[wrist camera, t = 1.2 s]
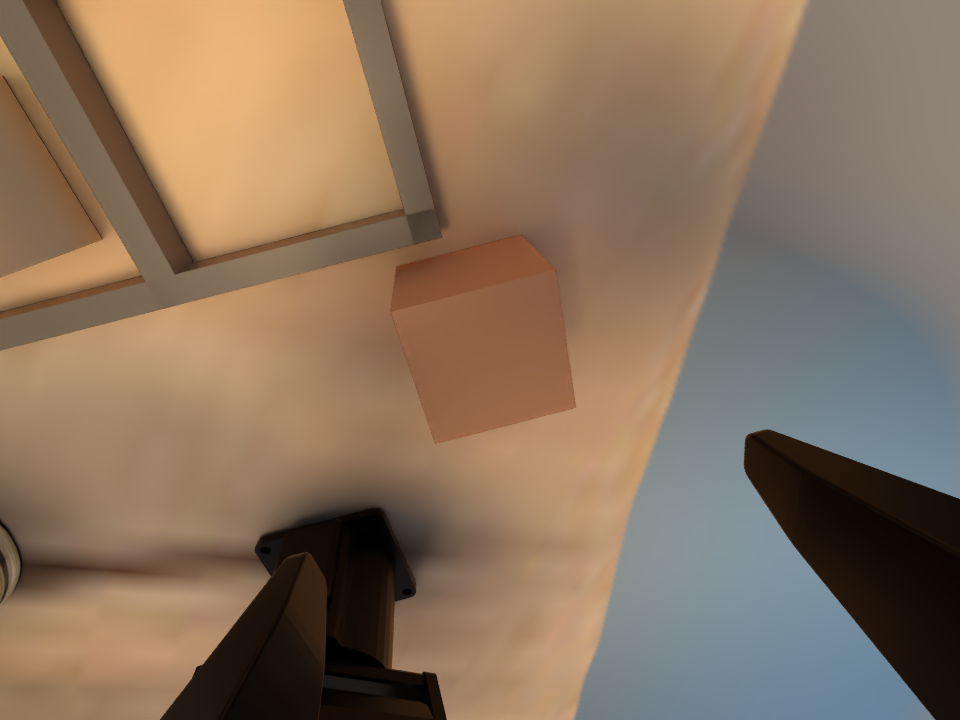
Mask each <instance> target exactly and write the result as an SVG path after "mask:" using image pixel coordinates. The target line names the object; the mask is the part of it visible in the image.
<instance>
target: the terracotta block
mask: <svg viewBox="0 0 960 720" xmlns="http://www.w3.org/2000/svg"><path fill="white" fill-rule="evenodd" d="M391 315H392V318H393V321H394V324H395V327H396V330H397V332H398V335H399V338H400V341H401V344H402V347H403V350H404V353H405V356H406V359H407V362H408V365H409V368H410V371H411V374H412V377H413V380H414V383H415V386H416V389H417V392H418V395H419V398H420V401H421V403H422V406H423V409H424V412H425V415H426V418H427V421H428V424H429V427H430V430H431V433H432V436H433V439H434V442H435V444H438V443H441V442H445V441H449V440H453V439H457V438H461V437H465V436H469V435H472V434H476V433H480V432H484V431H488V430H492V429H496V428H499V427H503V426H507V425H511V424H515V423H519V422H523V421H526V420H530V419H534V418H538V417H542V416H546V415H550V414H553V413H557V412H561V411H565V410H569V409H573V408H576V403H575V397H574V390H573V383H572V377H571V370H570V363H569V357H568V350H567V343H566V336H565V330H564V323H563V316H562V310H561V303H560V296H559V290H558V283H557V276H556V270H555V269H554V268H553V267H552V266H551V265H550V263H549V262H548V261H547V260H546V259H545V258H544V257H543V256H542V255H541V254H540V253H539V252H538V251H537V250H536V249H535V248H534V247H533V246H532V245H531V244H530V243H529V242H528V241H527V240H526V239H525V238H524V237H523V235H518V236H514V237H510V238H506V239H503V240H499V241H495V242H491V243H487V244H483V245H479V246H475V247H471V248H467V249H463V250H460V251H456V252H452V253H448V254H444V255H440V256H436V257H432V258H428V259H424V260H420V261H417V262H413V263H409V264H405V265H401V266H397V267H396V275H395V282H394V290H393V297H392V305H391Z"/></svg>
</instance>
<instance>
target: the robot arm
mask: <svg viewBox="0 0 960 720" xmlns="http://www.w3.org/2000/svg"><path fill="white" fill-rule="evenodd" d="M744 452H745V453H744V469H745V472H746V474H747V476H748V478H749V480H750V481H751V483H752V484H753V486H754V487H755V489H756V490H757V492H758V493H759V495H760V496H761V498H762V499H763V501H764V502H765V504H766V505H767V507H768V508H769V510H770V511H771V513H772V514H773V516H774V517H775V519H776V520H777V522H778V523H779V525H780V526H781V528H782V529H783V531H784V532H785V534H786V535H787V537H788V538H789V540H790V541H791V542H792V544H793V545H794V546H795V548H796V549H797V550H798V552H799V553H800V554H801V555H802V556H803V558H804V559H805V560H806V561H807V563H808V564H809V565H810V566H811V568H812V569H813V570H814V571H815V573H816V574H817V575H818V576H819V577H820V579H821V580H822V581H823V582H824V584H826V586H827V587H828V588H829V590H830V591H831V592H832V593H833V595H834V596H835V597H836V598H837V599H838V601H839V602H840V603H841V604H842V606H843V607H844V608H845V609H846V611H847V612H848V613H849V614H850V615H851V617H852V618H853V619H854V620H855V622H856V623H857V624H858V625H859V627H860V628H861V629H862V630H863V631H864V633H865V634H866V635H867V636H868V638H869V639H870V640H871V641H872V642H873V644H874V645H875V646H876V647H877V649H878V650H879V651H880V652H881V653H882V655H883V656H884V657H885V658H886V660H887V661H888V662H889V663H890V664H891V666H892V667H893V668H894V669H895V671H896V672H897V673H898V674H899V675H900V677H901V678H902V679H903V680H904V682H905V683H906V684H907V685H908V687H909V688H910V689H911V690H912V692H913V693H914V694H915V695H916V696H917V697H918V699H919V700H920V701H921V703H922V704H923V705H924V706H925V707H926V709H927V710H928V711H929V712H930V714H931V715H932V716H933V717H934V719H935V720H960V499H958V498H956V497H953V496H950V495H947V494H945V493H942V492H939V491H936V490H934V489H931V488H928V487H925V486H923V485H920V484H917V483H914V482H912V481H909V480H906V479H903V478H901V477H898V476H895V475H892V474H890V473H887V472H884V471H882V470H879V469H876V468H873V467H871V466H868V465H865V464H863V463H860V462H857V461H854V460H852V459H849V458H846V457H843V456H841V455H838V454H835V453H832V452H830V451H827V450H824V449H821V448H819V447H816V446H813V445H811V444H808V443H805V442H802V441H799V440H797V439H794V438H791V437H789V436H786V435H783V434H780V433H778V432H775V431H772V430H762V431H757V432H754V433H750V434H748V435H747V436H746V438H745V451H744ZM372 518H377V519H376V520H374V519H372ZM267 547H269V548H267ZM255 553H256V554H257V556H258V557H259V559H260V560H261V562H262V563H263V565H264V566H265V568H266V569H267V571H268V572H269V574H270V575H271V578H270V579H269V581H268V582H267V583H266V585H265V586H264V587H263V588H262V590H261V591H260V592H259V593H258V595H257V596H256V597H255V599H254V600H253V601H252V602H251V604H250V605H249V606H248V608H247V609H246V610H245V611H244V613H243V614H242V615H241V617H240V618H239V619H238V620H237V622H236V623H235V624H234V625H233V627H232V628H231V629H230V631H229V632H228V633H227V634H226V636H225V637H224V638H223V640H222V641H221V642H220V643H219V645H218V646H217V647H216V649H215V650H214V651H213V652H212V654H211V655H210V656H209V658H208V659H207V660H206V661H205V663H204V664H203V665H201V666H198V667H197V668H196V670H195V673H194V675H193V677H192V679H191V681H190V682H189V683H188V684H187V686H186V687H185V688H184V690H183V691H182V692H181V693H180V695H179V696H178V697H177V698H176V700H175V701H174V702H173V704H172V705H171V706H170V707H169V709H168V710H167V711H166V713H165V714H164V715H163V716H162V718H161V719H160V720H447V719H446V714H445V710H444V706H443V701H442V697H441V693H440V689H439V684H438V680H437V676H436V674H435V673H429V672H423V673H422V674H420V673H414V672H407V671H401V670H395V669H392V654H393V630H394V606H395V601H399V600H402V599H406V598H410V597H412V596H414V595H415V593H416V582H415V580H414V578H413V576H412V573H411V571H410V569H409V567H408V564H407V562H406V560H405V558H404V555H403V553H402V551H401V549H400V546H399V544H398V542H397V540H396V537H395V535H394V533H393V531H392V528H391V526H390V524H389V522H388V519H387V517H386V515H385V513H384V512H383V511H382V510H381V509H377V508H374V509H369V510H365V511H361V512H357V513H354V514H350V515H346V516H342V517H338V518H334V519H331V520H327V521H323V522H319V523H315V524H312V525H308V526H304V527H300V528H296V529H292V530H289V531H285V532H281V533H277V534H273V535H269V536H266V537H262V538H260V539H259V540H258V542H257V544H256V547H255Z"/></svg>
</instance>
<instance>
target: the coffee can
mask: <svg viewBox="0 0 960 720" xmlns="http://www.w3.org/2000/svg"><path fill="white" fill-rule="evenodd" d="M19 575H20V558H19V555H18V551H17V548H16V546H15V545H14V543H13V541H12V539H11V537H10V535H9V533H8V532H7V531H6V530H5V529H4V528H3V527H2V526H1V525H0V604H1V603H2V602H3V601H5V600H6V599H7V598H8V597H9V596H10V594H11V593H12V592H13V591H14V588H15V586H16V584H17V582H18V579H19Z"/></svg>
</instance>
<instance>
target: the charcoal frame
mask: <svg viewBox="0 0 960 720" xmlns="http://www.w3.org/2000/svg"><path fill="white" fill-rule="evenodd" d="M343 2H344V5H345V9H346V12H347V16H348V19H349V23H350V26H351V29H352V33H353V36H354V40H355V43H356V47H357V50H358V53H359V57H360V60H361V64H362V67H363V70H364V74H365V77H366V81H367V84H368V88H369V91H370V94H371V98H372V101H373V105H374V108H375V112H376V115H377V118H378V122H379V125H380V129H381V132H382V136H383V139H384V142H385V146H386V149H387V153H388V156H389V160H390V163H391V166H392V170H393V173H394V177H395V180H396V184H397V187H398V190H399V194H400V197H401V201H402V204H403V208H404V209H402V210H398V211H394V212H390V213H386V214H382V215H378V216H374V217H370V218H367V219H363V220H359V221H355V222H351V223H347V224H343V225H339V226H335V227H331V228H327V229H324V230H320V231H316V232H312V233H308V234H304V235H300V236H296V237H292V238H288V239H284V240H281V241H277V242H273V243H269V244H265V245H261V246H257V247H253V248H249V249H245V250H242V251H238V252H234V253H230V254H226V255H222V256H218V257H214V258H210V259H206V260H202V261H199V262H195V263H193V261H192V259H191V257H190V255H189V253H188V251H187V249H186V247H185V246H184V244H183V242H182V240H181V238H180V236H179V234H178V232H177V230H176V229H175V227H174V225H173V223H172V221H171V219H170V217H169V215H168V213H167V212H166V210H165V208H164V206H163V204H162V202H161V200H160V198H159V196H158V195H157V193H156V191H155V189H154V187H153V185H152V183H151V181H150V179H149V178H148V176H147V174H146V172H145V170H144V168H143V166H142V164H141V162H140V161H139V159H138V157H137V155H136V153H135V151H134V149H133V147H132V145H131V143H130V142H129V140H128V138H127V136H126V134H125V132H124V130H123V128H122V126H121V125H120V123H119V121H118V119H117V117H116V115H115V113H114V111H113V109H112V108H111V106H110V104H109V102H108V100H107V98H106V96H105V94H104V92H103V91H102V89H101V87H100V85H99V83H98V81H97V79H96V77H95V75H94V74H93V72H92V70H91V68H90V66H89V64H88V62H87V60H86V58H85V57H84V55H83V53H82V51H81V49H80V47H79V45H78V43H77V41H76V39H75V38H74V36H73V34H72V32H71V30H70V28H69V26H68V24H67V22H66V21H65V19H64V17H63V15H62V13H61V11H60V9H59V7H58V5H57V4H56V2H55V0H0V36H1V38H2V39H3V41H4V43H5V45H6V46H7V48H8V50H9V51H10V53H11V55H12V56H13V58H14V60H15V61H16V63H17V65H18V67H19V68H20V70H21V72H22V73H23V75H24V77H25V78H26V80H27V82H28V83H29V85H30V87H31V89H32V90H33V92H34V94H35V95H36V97H37V99H38V100H39V102H40V104H41V105H42V107H43V109H44V111H45V112H46V114H47V116H48V117H49V119H50V121H51V122H52V124H53V126H54V127H55V129H56V131H57V133H58V134H59V136H60V138H61V139H62V141H63V143H64V144H65V146H66V148H67V149H68V151H69V153H70V155H71V156H72V158H73V160H74V161H75V163H76V165H77V166H78V168H79V170H80V171H81V173H82V175H83V177H84V178H85V180H86V182H87V183H88V185H89V187H90V188H91V190H92V192H93V193H94V195H95V197H96V199H97V200H98V202H99V204H100V205H101V207H102V209H103V210H104V212H105V214H106V215H107V217H108V219H109V221H110V222H111V224H112V226H113V227H114V229H115V231H116V232H117V234H118V236H119V237H120V239H121V241H122V243H123V244H124V246H125V248H126V249H127V251H128V253H129V254H130V256H131V258H132V259H133V261H134V263H135V265H136V266H137V268H138V270H139V271H140V273H141V275H142V276H140V277H136V278H132V279H128V280H124V281H120V282H116V283H113V284H109V285H105V286H101V287H97V288H93V289H89V290H85V291H81V292H77V293H73V294H70V295H66V296H62V297H58V298H54V299H50V300H46V301H42V302H38V303H34V304H30V305H27V306H23V307H19V308H15V309H11V310H7V311H3V312H0V350H4V349H8V348H12V347H16V346H20V345H24V344H28V343H32V342H36V341H39V340H43V339H47V338H51V337H55V336H59V335H63V334H67V333H71V332H75V331H78V330H82V329H86V328H90V327H94V326H98V325H102V324H106V323H110V322H113V321H117V320H121V319H125V318H129V317H133V316H137V315H141V314H145V313H149V312H152V311H156V310H160V309H164V308H168V307H172V306H176V305H180V304H184V303H188V302H191V301H195V300H199V299H203V298H207V297H211V296H215V295H219V294H223V293H226V292H230V291H234V290H238V289H242V288H246V287H250V286H254V285H258V284H262V283H265V282H269V281H273V280H277V279H281V278H285V277H289V276H293V275H297V274H301V273H304V272H308V271H312V270H316V269H320V268H324V267H328V266H332V265H336V264H339V263H343V262H347V261H351V260H355V259H359V258H363V257H367V256H371V255H375V254H378V253H382V252H386V251H390V250H394V249H398V248H402V247H406V246H410V245H414V244H417V243H421V242H425V241H429V240H433V239H437V238H441V237H442V235H441V231H440V227H439V223H438V219H437V215H436V211H435V207H434V204H433V200H432V196H431V192H430V188H429V184H428V181H427V177H426V173H425V169H424V165H423V161H422V158H421V154H420V150H419V146H418V142H417V138H416V135H415V131H414V127H413V123H412V119H411V115H410V112H409V108H408V104H407V100H406V96H405V92H404V89H403V85H402V81H401V77H400V73H399V69H398V66H397V62H396V58H395V54H394V50H393V47H392V43H391V39H390V35H389V31H388V27H387V24H386V20H385V16H384V12H383V8H382V4H381V1H380V0H343ZM100 240H102V239H101V237H100V235H99V234H98V232H97V230H96V229H95V227H94V225H93V224H92V222H91V221H90V219H89V217H88V216H87V214H86V212H85V211H84V209H83V207H82V206H81V204H80V203H79V201H78V199H77V198H76V196H75V194H74V193H73V191H72V189H71V188H70V186H69V184H68V183H67V181H66V180H65V178H64V176H63V175H62V173H61V171H60V170H59V168H58V166H57V165H56V163H55V162H54V160H53V158H52V157H51V155H50V153H49V152H48V150H47V148H46V147H45V145H44V143H43V142H42V140H41V139H40V137H39V135H38V134H37V132H36V130H35V129H34V127H33V125H32V124H31V122H30V121H29V119H28V117H27V116H26V114H25V112H24V111H23V109H22V107H21V106H20V104H19V103H18V101H17V99H16V98H15V96H14V94H13V93H12V91H11V89H10V88H9V86H8V84H7V83H6V81H5V80H4V78H3V76H0V277H3V276H6V275H8V274H11V273H14V272H16V271H19V270H22V269H24V268H27V267H30V266H32V265H35V264H38V263H40V262H43V261H46V260H49V259H51V258H54V257H57V256H59V255H62V254H65V253H67V252H70V251H73V250H75V249H78V248H81V247H83V246H86V245H89V244H92V243H94V242H97V241H100Z"/></svg>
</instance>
